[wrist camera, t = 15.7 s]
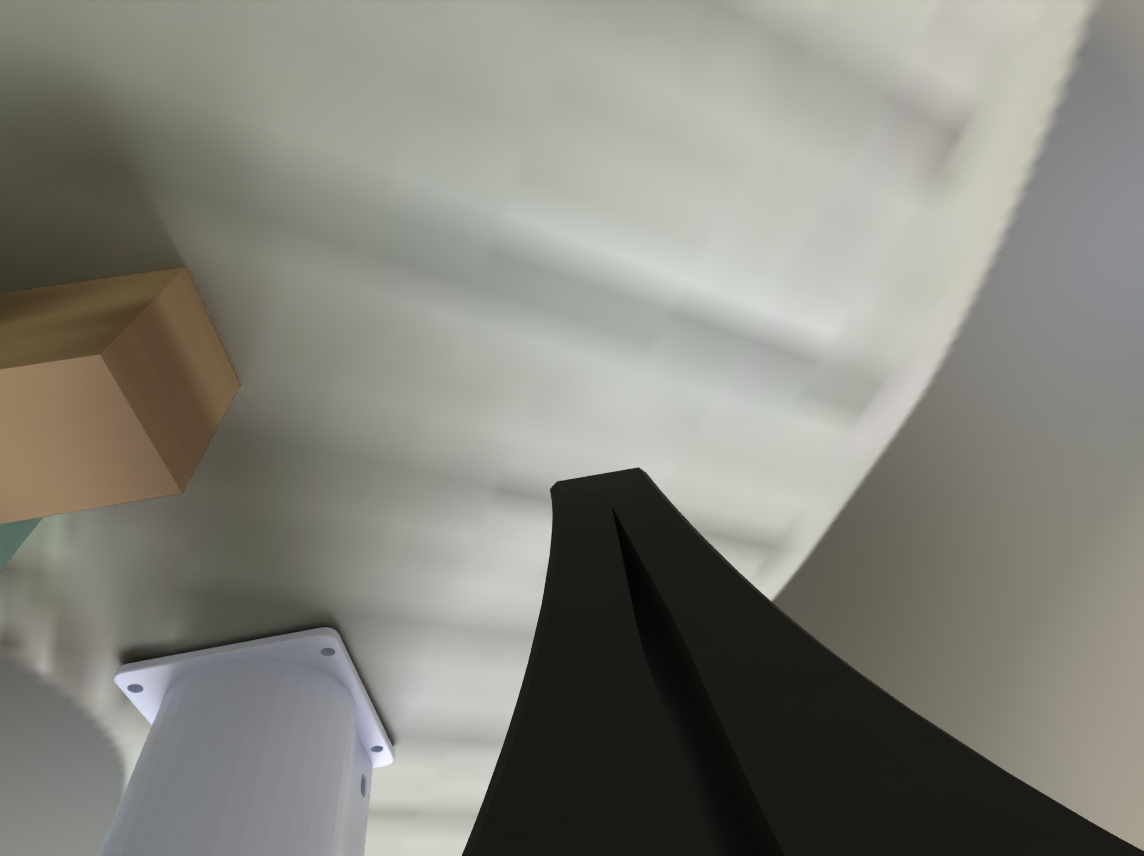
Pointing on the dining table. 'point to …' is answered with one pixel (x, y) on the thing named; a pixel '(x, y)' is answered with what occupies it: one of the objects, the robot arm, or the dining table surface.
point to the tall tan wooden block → (106, 392)
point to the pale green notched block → (14, 537)
